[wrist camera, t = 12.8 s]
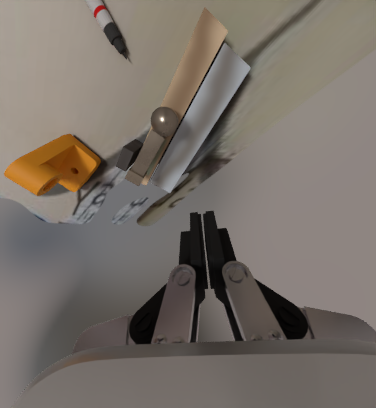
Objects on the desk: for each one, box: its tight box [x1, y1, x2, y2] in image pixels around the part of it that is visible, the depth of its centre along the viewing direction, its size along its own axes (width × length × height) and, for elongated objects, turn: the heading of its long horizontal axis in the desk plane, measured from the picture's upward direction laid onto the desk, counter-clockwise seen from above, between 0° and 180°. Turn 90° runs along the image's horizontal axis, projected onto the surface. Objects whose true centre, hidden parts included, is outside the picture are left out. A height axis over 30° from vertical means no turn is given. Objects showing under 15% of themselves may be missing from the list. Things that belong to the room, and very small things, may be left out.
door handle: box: [125, 107, 178, 186], centre depth 27 cm, size 14×4×4 cm, turn 145°
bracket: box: [4, 134, 101, 196], centre depth 29 cm, size 11×7×12 cm, turn 132°
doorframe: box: [116, 8, 251, 193], centre depth 27 cm, size 12×28×7 cm, turn 148°
